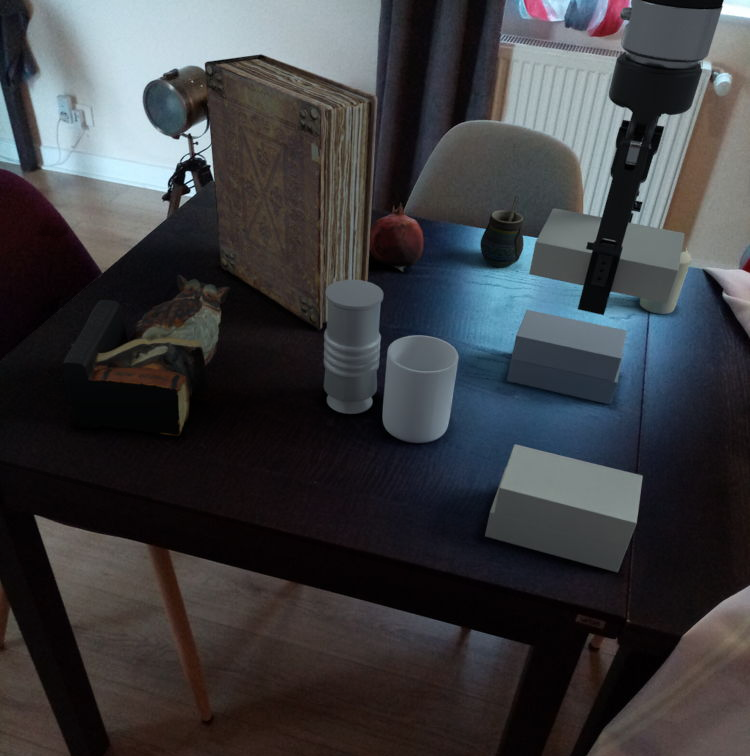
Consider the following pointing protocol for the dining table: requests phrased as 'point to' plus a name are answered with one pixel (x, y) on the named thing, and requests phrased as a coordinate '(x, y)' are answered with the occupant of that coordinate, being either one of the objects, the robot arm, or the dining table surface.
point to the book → (291, 179)
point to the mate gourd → (503, 238)
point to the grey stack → (567, 356)
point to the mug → (419, 388)
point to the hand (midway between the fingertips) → (598, 289)
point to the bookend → (145, 362)
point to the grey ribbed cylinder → (352, 344)
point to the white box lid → (637, 261)
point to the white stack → (566, 507)
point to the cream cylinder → (670, 306)
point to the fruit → (396, 240)
